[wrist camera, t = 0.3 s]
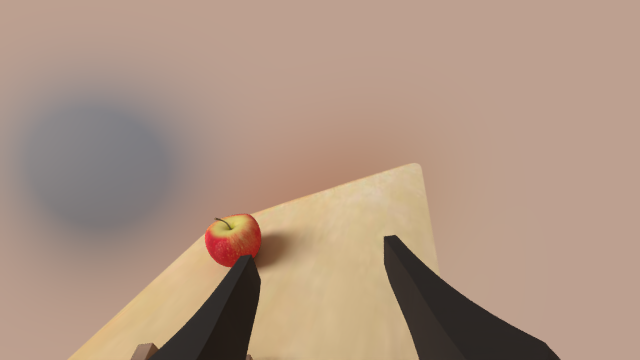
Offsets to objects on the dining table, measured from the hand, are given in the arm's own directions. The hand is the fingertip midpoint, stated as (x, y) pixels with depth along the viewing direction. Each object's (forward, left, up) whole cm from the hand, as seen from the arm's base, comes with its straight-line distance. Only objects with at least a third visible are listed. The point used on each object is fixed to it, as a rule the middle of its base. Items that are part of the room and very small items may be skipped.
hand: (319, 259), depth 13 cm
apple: (+20, +14, -21) cm, 32 cm away
